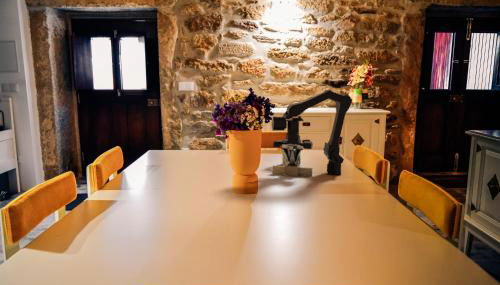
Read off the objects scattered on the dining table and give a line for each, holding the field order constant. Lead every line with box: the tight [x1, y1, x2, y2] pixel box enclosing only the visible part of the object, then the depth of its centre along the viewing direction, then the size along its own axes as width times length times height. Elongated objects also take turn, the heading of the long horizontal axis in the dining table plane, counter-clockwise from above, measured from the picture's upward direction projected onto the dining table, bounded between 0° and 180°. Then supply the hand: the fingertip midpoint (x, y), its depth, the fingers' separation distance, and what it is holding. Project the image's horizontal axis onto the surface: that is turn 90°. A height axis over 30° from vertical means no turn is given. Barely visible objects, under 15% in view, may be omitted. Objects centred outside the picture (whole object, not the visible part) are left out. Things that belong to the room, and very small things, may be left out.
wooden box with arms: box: [272, 163, 313, 178], centre depth 182 cm, size 20×6×5 cm, turn 74°
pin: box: [289, 149, 296, 166], centre depth 181 cm, size 3×3×8 cm
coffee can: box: [281, 138, 302, 166], centre depth 201 cm, size 10×10×14 cm
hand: (292, 161), depth 181 cm, fingers closed on pin, 3 cm apart
